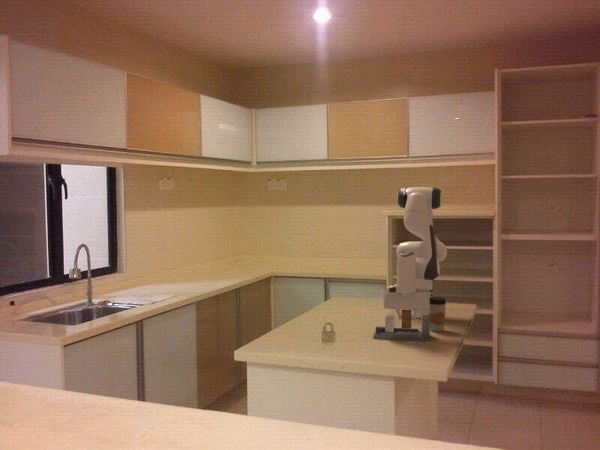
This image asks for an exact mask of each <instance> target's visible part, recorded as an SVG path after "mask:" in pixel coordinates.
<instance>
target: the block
mask: <svg viewBox="0 0 600 450" xmlns="http://www.w3.org/2000/svg"><path fill="white" fill-rule="evenodd" d="M401 315H402V319H401V328H410V329H412V320H411V310H407V309H401Z"/></svg>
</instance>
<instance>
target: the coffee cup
mask: <svg viewBox="0 0 600 450" xmlns="http://www.w3.org/2000/svg"><path fill="white" fill-rule="evenodd" d="M429 302H430V308H429V315H430V331H431V332H436V333H441V332H444V330H445V321H446V319H445V318H446V304H447V302H446V298H445V297H441V296H440V297H439V296H433V297H430V298H429Z"/></svg>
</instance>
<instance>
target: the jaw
mask: <svg viewBox="0 0 600 450" xmlns="http://www.w3.org/2000/svg"><path fill="white" fill-rule="evenodd" d="M395 321H396V317H395V315H394V313H386V315H385V317H384V325H385V326H378V325H377V326H375V331H376V332H385V333H393V332H394V330H395V328H396V324H395V323H396V322H395Z"/></svg>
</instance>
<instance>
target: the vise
mask: <svg viewBox="0 0 600 450" xmlns="http://www.w3.org/2000/svg"><path fill="white" fill-rule="evenodd" d="M420 319H421V320H420V330H419V328H411V329H410V328H402V327H395V330H394V332H393V333H385V332H376V330H375V331H374V332H373V339H377V340H378V339H380V340H397V341H398V340H399V341H400V340H402V341H419V342H420V341H421V342H423V341H424V342H430V338H431V333H430V331H431V330H430V315H423V316H422V317H421V318H420Z"/></svg>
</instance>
